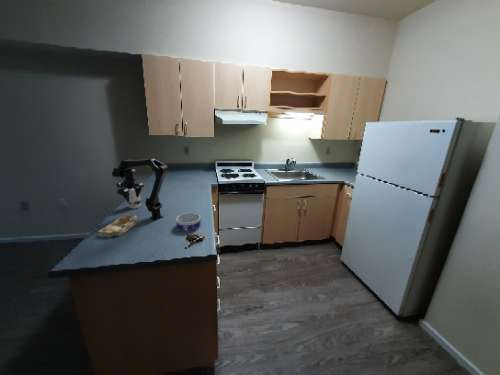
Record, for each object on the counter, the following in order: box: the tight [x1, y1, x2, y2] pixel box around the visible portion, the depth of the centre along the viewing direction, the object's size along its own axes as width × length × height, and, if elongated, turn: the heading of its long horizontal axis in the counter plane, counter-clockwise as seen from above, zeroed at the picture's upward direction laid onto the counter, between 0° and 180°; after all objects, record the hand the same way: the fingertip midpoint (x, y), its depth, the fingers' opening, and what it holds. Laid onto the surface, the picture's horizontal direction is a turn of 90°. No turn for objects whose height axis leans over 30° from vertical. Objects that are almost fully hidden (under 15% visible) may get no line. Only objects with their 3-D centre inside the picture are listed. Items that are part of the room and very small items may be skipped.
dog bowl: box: [175, 212, 202, 232], centre depth 140 cm, size 15×15×6 cm
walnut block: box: [119, 213, 133, 224], centre depth 142 cm, size 6×4×4 cm, turn 173°
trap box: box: [97, 215, 138, 238], centre depth 135 cm, size 24×12×3 cm, turn 173°
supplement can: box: [128, 189, 142, 209], centre depth 165 cm, size 8×8×15 cm
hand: (132, 199), depth 149 cm, fingers open, 9 cm apart
